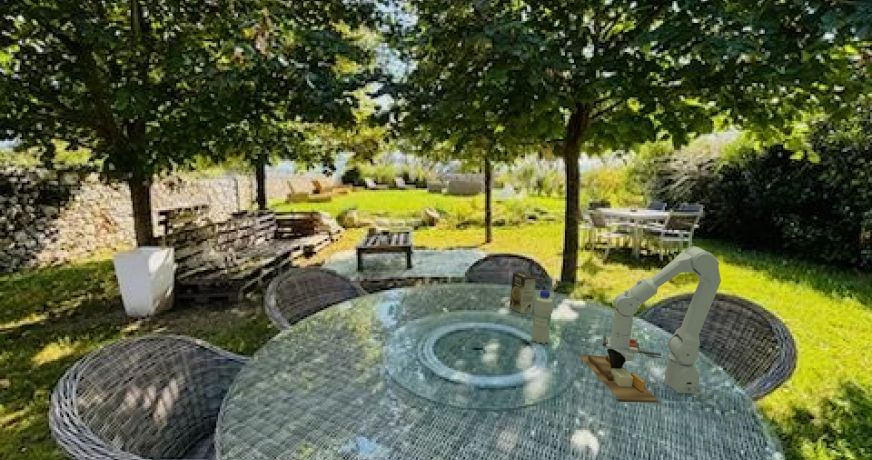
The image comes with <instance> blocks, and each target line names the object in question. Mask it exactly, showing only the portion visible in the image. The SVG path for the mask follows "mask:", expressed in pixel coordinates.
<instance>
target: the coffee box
mask: <svg viewBox="0 0 872 460" xmlns="http://www.w3.org/2000/svg"><path fill="white" fill-rule="evenodd" d="M536 281H537V277H535V276H533V275H531V274H529V273H527V272H520V271H519V272H518V271H517V272H513V273H512V281H511V289H510V291H511V292H510V300H509V308H511V309H512V310H514V311H516V312H517V313H519V314H532V313H533V307H534V299H535V298H534V297H535V290H536Z"/></svg>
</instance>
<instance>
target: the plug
mask: <svg viewBox="0 0 872 460" xmlns="http://www.w3.org/2000/svg"><path fill="white" fill-rule="evenodd" d="M625 369H626V368H624V369H619V368H612V369H611V375H612V376H613V380H614V381H615V383H616V384H617V385H618V386H623V387H632V382H633V377H632V376H631V375H630V374H631V373H630V372H629V371H628V370H627V369H626V370H627V371H628V372H629V373H630V374H629V373H628V372H627V371H626V370H625Z"/></svg>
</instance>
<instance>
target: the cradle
mask: <svg viewBox="0 0 872 460" xmlns="http://www.w3.org/2000/svg"><path fill="white" fill-rule="evenodd" d="M578 356H579V358H580V359H581V360H582V361H583V362H584V363H585V364H586V365H587V367H589V369H590V370H591V371H592V372H593V373H594V374H595V375H596V376H597V377H598V379H599V380H601V382H603V384H604V385H605V387H607V388H608V390H610V391H611V393H613V395H614V396H615V397H616V398H617V399H616V400H617V401H618V402H619V403H654V404H655V403H659V399H658V398H657V397H656V396H655V395H654V394H652V392H650V391H649V389H647V388H646V387H645V386H644V391H640V390H639V389H637V388H636V387H635V386H634V385H633V384H632V387H623V386H618V385H617V384H616V383H615V381H614V380H613V376H612V375H611V364H610V358H609V355H592V354H588V355H586V354H585V355H583V354H582V355H578ZM621 369H625V370H626V371H627V372H628V373H629V374H630V375H631V372H629V371H628V370H627V369H626V368H625V367H623V366H622V368H621Z"/></svg>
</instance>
